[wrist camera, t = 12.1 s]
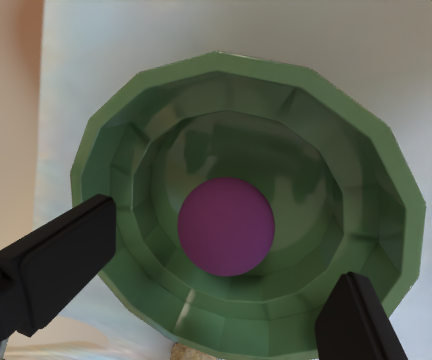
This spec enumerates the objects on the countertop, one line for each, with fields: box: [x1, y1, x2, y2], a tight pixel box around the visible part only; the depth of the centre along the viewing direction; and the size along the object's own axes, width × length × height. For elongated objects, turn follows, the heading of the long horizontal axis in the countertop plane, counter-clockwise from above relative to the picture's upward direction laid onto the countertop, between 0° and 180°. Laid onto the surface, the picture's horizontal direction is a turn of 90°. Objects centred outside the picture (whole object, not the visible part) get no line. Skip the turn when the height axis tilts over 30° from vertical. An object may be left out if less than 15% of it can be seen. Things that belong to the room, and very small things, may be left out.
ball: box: [177, 177, 275, 276], centre depth 12 cm, size 5×5×5 cm
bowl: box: [70, 51, 426, 360], centre depth 13 cm, size 15×15×5 cm
